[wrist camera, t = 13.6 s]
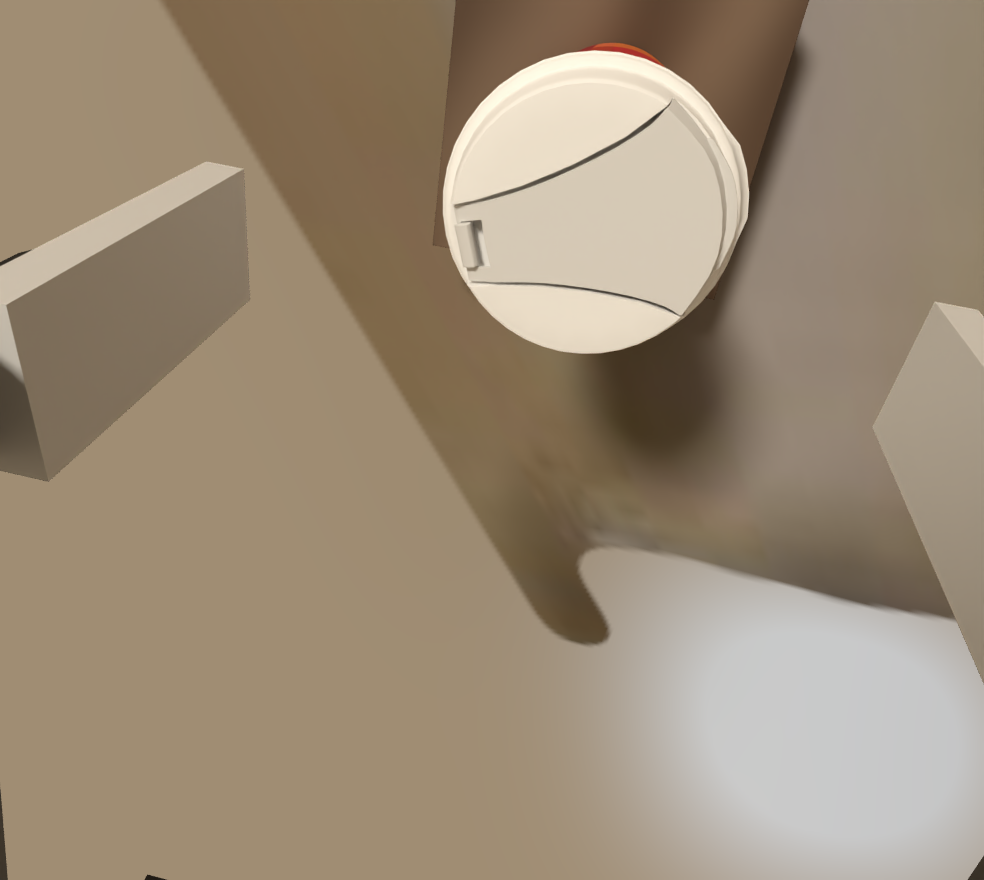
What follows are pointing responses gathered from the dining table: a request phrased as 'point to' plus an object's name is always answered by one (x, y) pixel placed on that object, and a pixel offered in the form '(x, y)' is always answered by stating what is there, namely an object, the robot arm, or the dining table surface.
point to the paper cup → (594, 200)
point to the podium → (637, 22)
